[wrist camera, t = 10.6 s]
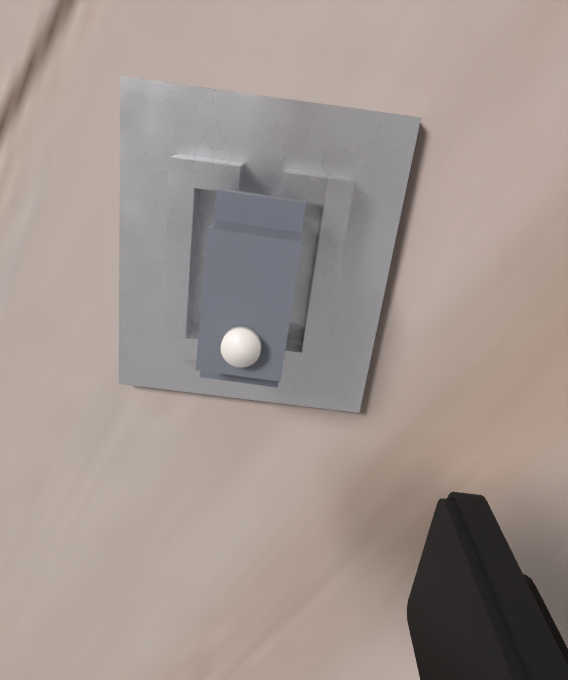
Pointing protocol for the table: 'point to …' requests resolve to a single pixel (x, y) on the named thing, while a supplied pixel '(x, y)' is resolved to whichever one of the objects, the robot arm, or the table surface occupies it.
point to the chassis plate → (267, 179)
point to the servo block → (249, 287)
